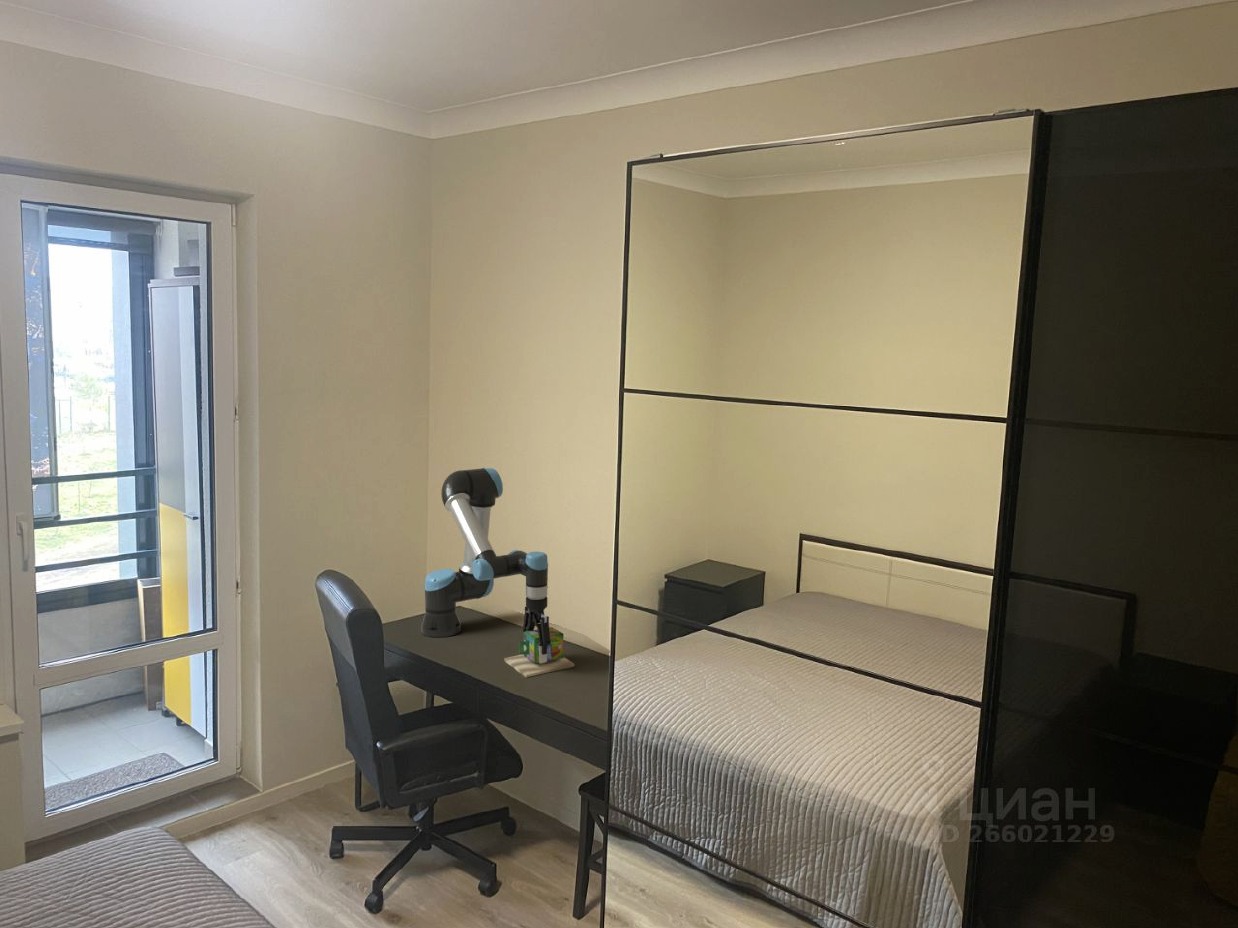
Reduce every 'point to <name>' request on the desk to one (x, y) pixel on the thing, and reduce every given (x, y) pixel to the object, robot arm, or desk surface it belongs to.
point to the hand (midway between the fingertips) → (536, 657)
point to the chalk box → (533, 643)
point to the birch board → (537, 665)
